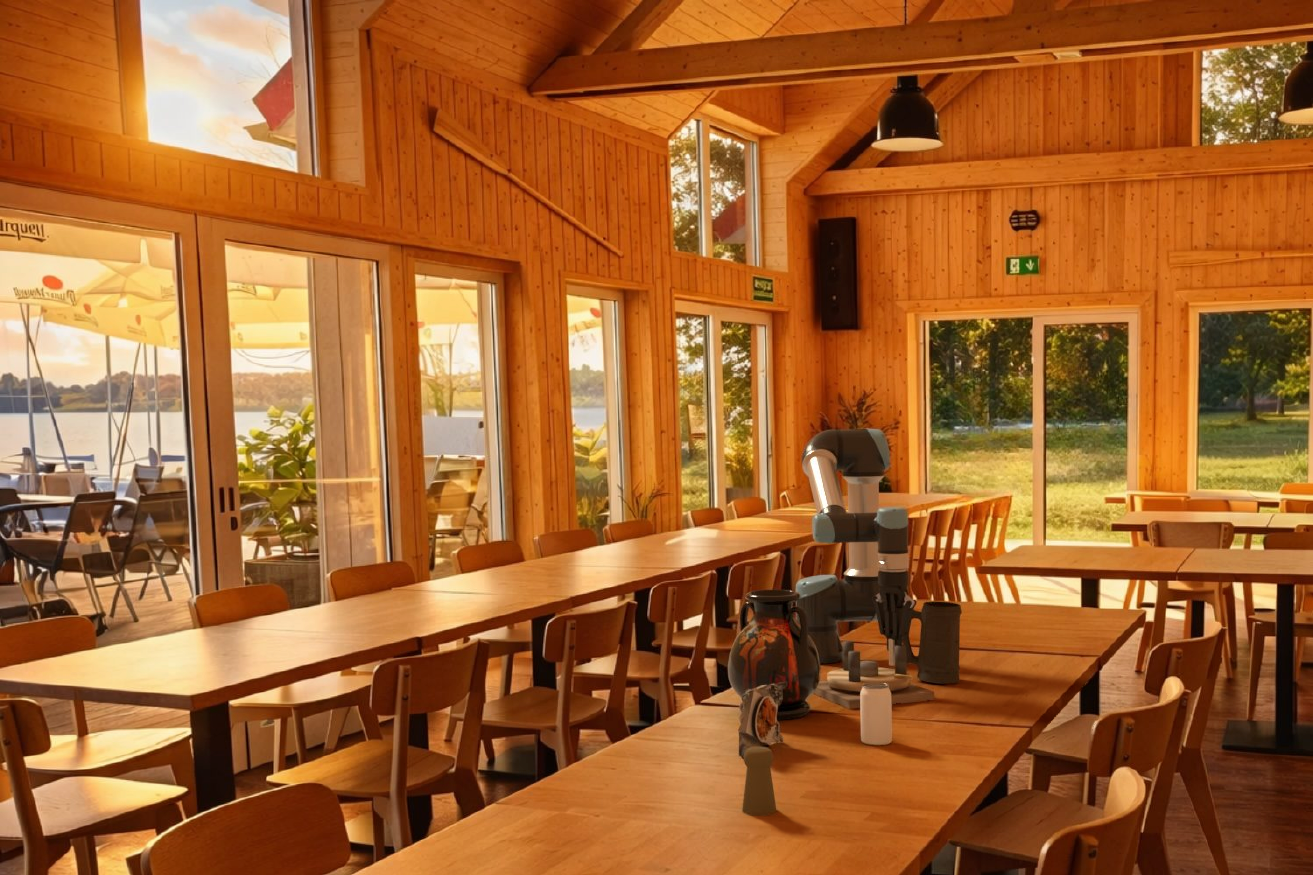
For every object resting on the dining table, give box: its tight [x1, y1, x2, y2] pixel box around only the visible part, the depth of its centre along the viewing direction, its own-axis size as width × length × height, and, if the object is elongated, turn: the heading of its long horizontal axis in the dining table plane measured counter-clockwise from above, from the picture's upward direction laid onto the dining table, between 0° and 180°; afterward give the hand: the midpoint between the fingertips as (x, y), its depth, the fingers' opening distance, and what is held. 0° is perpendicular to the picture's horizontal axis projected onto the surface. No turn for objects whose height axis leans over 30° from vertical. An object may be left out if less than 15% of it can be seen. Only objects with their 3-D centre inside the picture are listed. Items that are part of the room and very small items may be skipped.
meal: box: [738, 681, 788, 759], centre depth 268 cm, size 15×4×13 cm, turn 149°
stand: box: [812, 679, 935, 710], centre depth 318 cm, size 23×23×2 cm
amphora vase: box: [727, 589, 822, 721], centre depth 301 cm, size 22×22×28 cm
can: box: [859, 683, 893, 747], centre depth 272 cm, size 6×6×12 cm
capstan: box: [826, 640, 914, 692], centre depth 318 cm, size 20×20×9 cm
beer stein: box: [902, 601, 963, 685], centre depth 333 cm, size 15×11×20 cm
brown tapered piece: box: [741, 746, 777, 817], centre depth 227 cm, size 6×6×11 cm
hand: (894, 664), depth 321 cm, fingers closed
